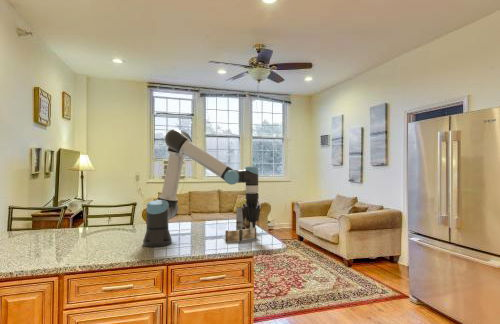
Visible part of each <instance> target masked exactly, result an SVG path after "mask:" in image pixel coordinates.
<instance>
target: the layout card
mask: <svg viewBox="0 0 500 324" xmlns="http://www.w3.org/2000/svg"><path fill="white" fill-rule="evenodd" d="M221 237H222V239H223V240H224V242H225V244H230V243H233V244H234V243H246V242H247V243H248V242H249V243H250V242H252V243H253V242H261V240H260V239H259V238H258V237H257V236H256V238H250V239H244V240H242V241H239V240H236V241H227V242H226V241H225V235H221Z"/></svg>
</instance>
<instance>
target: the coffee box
mask: <svg viewBox="0 0 500 324" xmlns="http://www.w3.org/2000/svg"><path fill="white" fill-rule="evenodd" d="M235 220H236V221H235V226H236V227H235V229H236V230H240V229H241V230H244V229H250V227H249V221H248V220H246V215H245V210H244V207H243V206H238V207H236V218H235Z"/></svg>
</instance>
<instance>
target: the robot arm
mask: <svg viewBox="0 0 500 324" xmlns="http://www.w3.org/2000/svg"><path fill="white" fill-rule="evenodd" d="M164 140H165V141H164V142H165V145H166V146H167V153H168V155H169V156H168V161H167V166H166V170H165V175H164V180H163V185H162V190H161V194H159V195H158V196H157V199H155V200H151V201H149V202H148V203H147V204H146V209H145V211H146V232H145V234H144V236H143V237H144V238H143V241H142V245H143V246H144V247H147V248H161V247H167V246H169V245H171V244H172V236H171V234H170V230H169V220H172V219H174V218H175V216H176V215H178V214H177V213H178V211H179V206H178V201H179V198H178V197H177V194H178V189H179V184H180V178H181V174H182V167H183V163H184V158H185V157H188V158H189V159H191V160H192V161H194V162H196V163H197V164H199V165H200V166H202V167H203V168H205V169H207V170H208V171H209V172H212V173H213V174H215V175H216V176H217V177H219V178H220V179H222V180H223V181H225V183H227V184H228V185H236V184H238V183H240V184H242V183H243V184H244V183H245V200H246V201H245V202H244V203H243V204H242V207H244V210H245V215H246V220H248V221H249V227H250V233H251V234H253V233H255V228H257V226H256V225H257V223H256V222H259V220H260V215H261V209H262V207H263V206H262V205H261V204H260V203H259V167H257V166H254V165H253V166H249V165H248V166H245V168H244V169H233V168H232V167H229V166H228V165H227V164H225V163H223V162H222V161H220V160H219V159H218V158H216V157H214V156H213V155H211V154H210V153H208V152H207V151H205V150H204V149H202V148H201V147H199V146H198V145H196V144H195V143H192V137H191V135H190V134H189V133H188V132H186V131H185V130H180V129H177V128H174V129H170V130H169V131H168V132H167V133H166V134H165V137H164Z"/></svg>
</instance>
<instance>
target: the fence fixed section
mask: <svg viewBox="0 0 500 324" xmlns="http://www.w3.org/2000/svg"><path fill="white" fill-rule="evenodd" d="M224 232H225V235H224V236H225V241H226V242H227V241H236V240H239V241H242V230H241V229H240V230H225V231H224ZM225 241H224V242H225ZM226 242H225V243H226Z"/></svg>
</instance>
